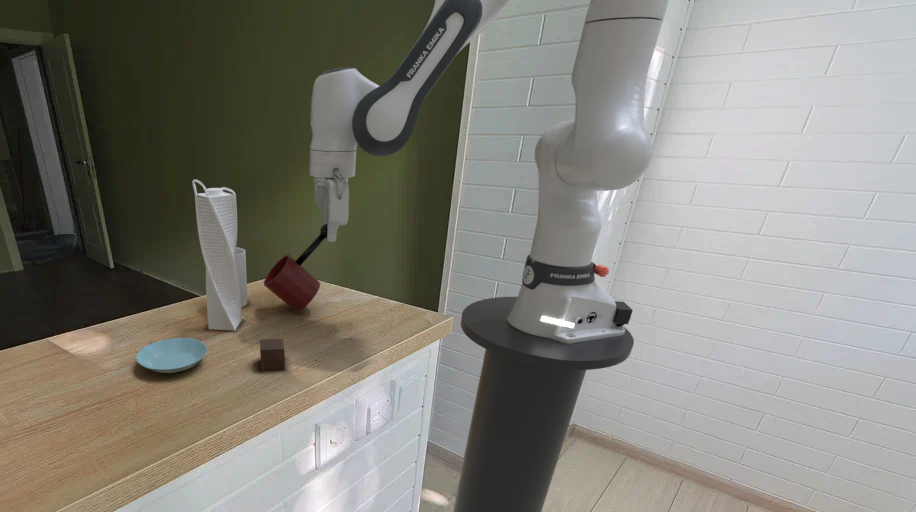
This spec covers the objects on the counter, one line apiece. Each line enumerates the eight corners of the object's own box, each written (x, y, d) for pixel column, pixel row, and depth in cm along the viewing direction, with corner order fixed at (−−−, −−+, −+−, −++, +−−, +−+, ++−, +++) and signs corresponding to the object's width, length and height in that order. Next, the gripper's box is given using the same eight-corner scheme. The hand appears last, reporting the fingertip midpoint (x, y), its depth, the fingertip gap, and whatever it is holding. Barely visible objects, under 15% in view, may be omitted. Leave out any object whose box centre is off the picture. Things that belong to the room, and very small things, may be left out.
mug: (224, 297, 112) (220, 246, 106) (252, 299, 111) (249, 247, 105) (208, 314, 103) (203, 259, 97) (238, 316, 102) (235, 260, 96)
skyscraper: (199, 331, 95) (183, 181, 82) (211, 316, 102) (198, 176, 89) (238, 333, 94) (228, 182, 81) (248, 318, 101) (240, 177, 88)
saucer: (131, 382, 77) (129, 370, 76) (145, 350, 88) (143, 338, 87) (205, 379, 78) (204, 367, 77) (210, 347, 89) (209, 336, 88)
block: (283, 358, 85) (283, 338, 83) (284, 369, 81) (284, 348, 79) (260, 359, 84) (259, 339, 83) (261, 371, 81) (260, 349, 79)
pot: (351, 241, 104) (321, 213, 100) (358, 251, 97) (326, 221, 93) (293, 302, 109) (263, 277, 105) (296, 316, 102) (264, 289, 98)
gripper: (359, 173, 84) (354, 251, 90) (340, 160, 101) (336, 227, 108) (323, 172, 83) (321, 252, 89) (310, 160, 101) (309, 227, 107)
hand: (329, 238), depth 99 cm, fingers closed on pot, 3 cm apart
